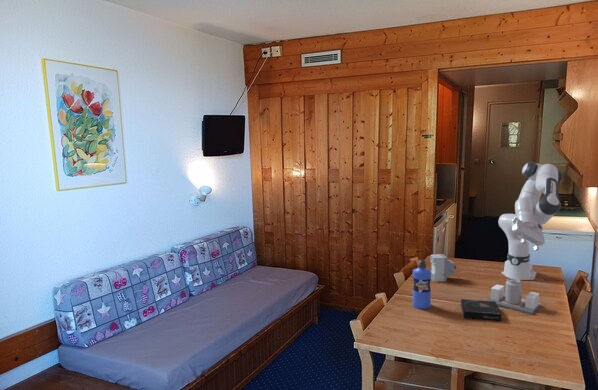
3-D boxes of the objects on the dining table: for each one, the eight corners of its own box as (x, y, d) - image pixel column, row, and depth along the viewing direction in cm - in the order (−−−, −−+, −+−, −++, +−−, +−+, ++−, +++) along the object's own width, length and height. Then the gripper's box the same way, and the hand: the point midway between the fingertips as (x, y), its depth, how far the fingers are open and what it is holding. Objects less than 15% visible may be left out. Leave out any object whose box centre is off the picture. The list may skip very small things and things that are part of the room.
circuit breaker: (456, 281, 256) (457, 257, 254) (433, 281, 256) (433, 257, 254) (452, 277, 263) (453, 254, 261) (429, 277, 264) (430, 254, 262)
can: (504, 303, 216) (505, 281, 215) (505, 298, 223) (506, 276, 221) (521, 306, 213) (522, 283, 211) (521, 300, 219) (522, 278, 218)
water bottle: (431, 309, 215) (432, 262, 211) (413, 308, 216) (413, 262, 213) (429, 302, 224) (430, 257, 220) (411, 302, 226) (412, 257, 222)
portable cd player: (494, 308, 215) (495, 301, 215) (501, 322, 199) (501, 314, 198) (460, 305, 220) (460, 298, 219) (464, 319, 203) (464, 311, 203)
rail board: (497, 295, 231) (497, 282, 230) (541, 305, 216) (541, 292, 215) (486, 303, 221) (486, 290, 220) (531, 314, 205) (532, 300, 204)
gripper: (517, 213, 216) (521, 236, 208) (544, 228, 222) (549, 251, 214) (507, 218, 221) (510, 240, 213) (534, 233, 227) (538, 255, 219)
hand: (530, 246), depth 213 cm, fingers open, 8 cm apart
